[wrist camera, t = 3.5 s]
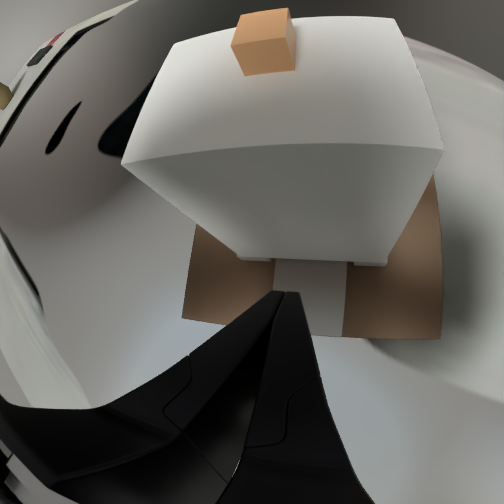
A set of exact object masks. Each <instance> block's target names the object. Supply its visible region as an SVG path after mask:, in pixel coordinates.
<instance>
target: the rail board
mask: <svg viewBox="0 0 504 504" xmlns="http://www.w3.org/2000/svg"><path fill="white" fill-rule="evenodd" d="M271 290H281V291H285V292H287V291H295V292H299V293H300V295H301V299H302V302H303V306H304V310H305V314H306V318H307V322H308V326H309V330H310V334H311V335H317V336H329V337H354V338H374V339H440V336H441V322H442V298H443V269H442V245H441V231H440V220H439V211H438V203H437V195H436V188H435V182H434V176H433V175H432V177H431V179H430V181H429V183H428V185H427V187H426V189H425V191H424V193H423V195H422V197H421V199H420V200H419V202H418V204H417V206H416V208H415V210H414V212H413V213H412V215H411V217H410V219H409V221H408V222H407V224H406V226H405V228H404V230H403V231H402V233H401V235H400V236H399V238H398V240H397V242H396V243H395V245H394V247H393V248H392V250H391V252H390V253H389V255H388V261H387V265H386V266H385V267H378V266H355V265H354V262H350V261H327V260H304V259H282V258H272V259H271V262H269V261H250V260H241V259H240V258H238V257H237V254H236V253H235V252H234V251H233V250H231V249H230V248H229V247H227V246H226V245H225V244H223V243H222V242H221V241H219V240H218V239H217V238H215V237H214V236H213V235H211V234H210V233H209V232H208V231H206V230H205V229H204V228H202V227H201V226H200V225H198V224H196V230H195V235H194V241H193V247H192V253H191V259H190V265H189V271H188V278H187V284H186V291H185V298H184V305H183V312H182V318H184V319H190V320H196V321H203V322H208V323H215V324H222V325H228V324H229V323H230V322H232V321H233V320H234V319H235V318H237V317H238V316H239V315H241V314H242V313H243V312H244V311H246V310H247V309H248V308H249V307H251V306H252V305H253V304H254V303H256V302H257V301H258V300H259V299H261V298H262V297H263V296H264V295H266V294H267V293H268V292H269V291H271Z"/></svg>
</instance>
